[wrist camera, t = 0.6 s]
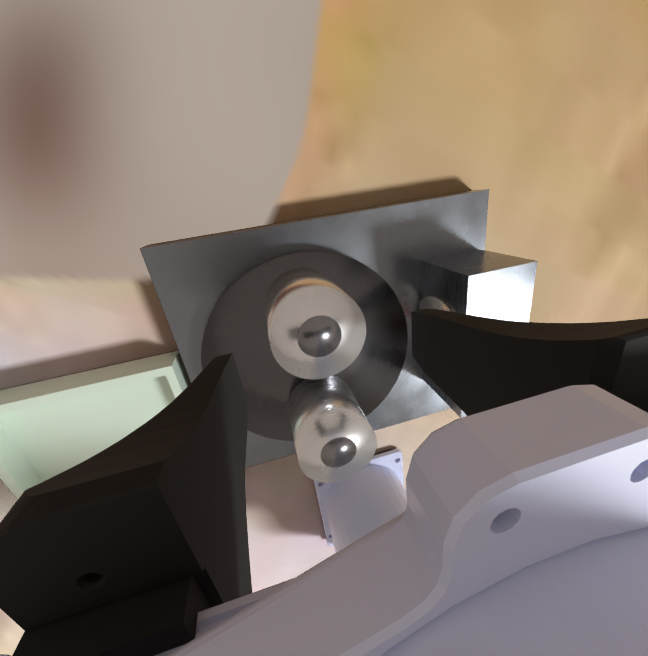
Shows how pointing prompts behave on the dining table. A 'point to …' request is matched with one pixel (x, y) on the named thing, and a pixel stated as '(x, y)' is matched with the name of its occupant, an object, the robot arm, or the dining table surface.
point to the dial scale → (357, 282)
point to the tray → (80, 415)
